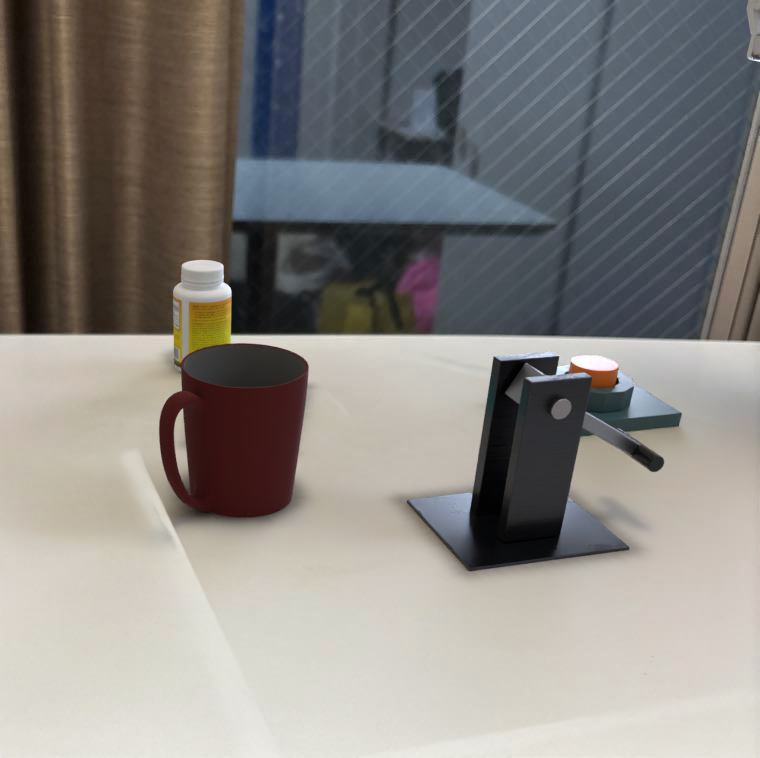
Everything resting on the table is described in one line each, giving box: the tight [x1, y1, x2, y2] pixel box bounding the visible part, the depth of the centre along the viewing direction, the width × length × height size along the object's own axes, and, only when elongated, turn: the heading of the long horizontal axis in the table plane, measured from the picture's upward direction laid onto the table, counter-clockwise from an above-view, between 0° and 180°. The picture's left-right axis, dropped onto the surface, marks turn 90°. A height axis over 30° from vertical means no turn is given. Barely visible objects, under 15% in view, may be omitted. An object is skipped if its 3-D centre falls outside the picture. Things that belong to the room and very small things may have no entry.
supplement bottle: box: [172, 259, 233, 373], centre depth 100 cm, size 6×6×10 cm
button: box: [568, 354, 620, 388], centre depth 91 cm, size 4×4×2 cm
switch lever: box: [505, 363, 665, 473], centre depth 71 cm, size 12×5×2 cm, turn 105°
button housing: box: [556, 364, 683, 437], centre depth 92 cm, size 12×10×4 cm
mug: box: [158, 342, 310, 519], centre depth 74 cm, size 12×9×11 cm
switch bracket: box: [406, 351, 630, 572], centre depth 71 cm, size 12×10×13 cm
